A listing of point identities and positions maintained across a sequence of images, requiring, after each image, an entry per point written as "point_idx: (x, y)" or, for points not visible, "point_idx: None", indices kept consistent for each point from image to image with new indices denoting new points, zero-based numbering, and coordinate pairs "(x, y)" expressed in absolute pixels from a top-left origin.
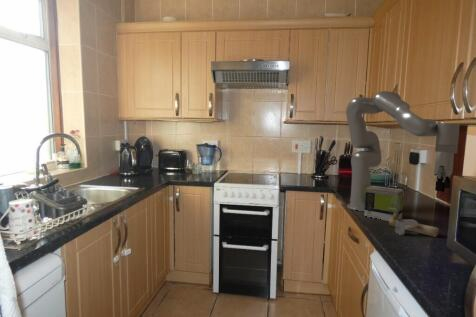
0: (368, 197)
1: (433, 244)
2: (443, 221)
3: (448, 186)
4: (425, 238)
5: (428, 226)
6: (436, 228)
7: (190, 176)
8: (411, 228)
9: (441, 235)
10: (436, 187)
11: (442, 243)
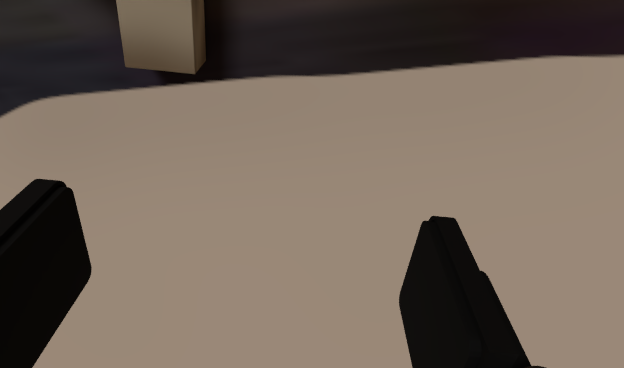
0: None
1: (9, 57)
2: (563, 55)
3: (405, 315)
4: (69, 2)
5: (172, 9)
6: (171, 62)
7: None
8: None
9: (216, 76)
10: (5, 222)
11: (75, 94)
